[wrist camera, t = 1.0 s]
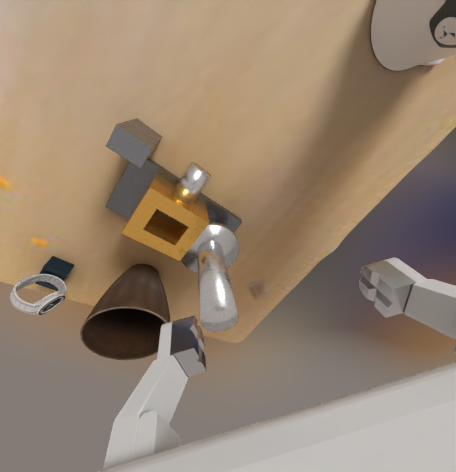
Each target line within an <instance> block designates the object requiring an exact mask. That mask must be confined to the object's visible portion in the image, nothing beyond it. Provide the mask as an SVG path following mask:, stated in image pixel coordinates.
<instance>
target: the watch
mask: <svg viewBox="0 0 456 472" xmlns="http://www.w3.org/2000/svg"><path fill="white" fill-rule="evenodd" d="M73 267H74V265H73V264H71V263H68V262H66V261H64V260H61V259H59V258H56V257H54V256H52V257H51V259H50V260H49V261H48V262H47V263H46V264H45V265H44V267H43V269H42V270H41V272H40V274H39V273H37V274H33V275H30V276H27V277H25V278H23V279H21V280H19V281H18V282H17V283H16V285H15V286H14V288H13V290H12V292H11V294H10V302H11V304H12V306H13V307H15V308H16V309H17V310H19V311H21V312H25V313H28V314H38V315H42V314H45V313H47V312H49V311H51V310H52V309H54V308H55V307H57V306H58V305H59V304H60V303H61V302H62V301H63V300H64V299H65V297H66V296H65V295H64V294H65V293H66V291H67V288H66V285H65V283H64V281H65V279H66V277H67V276H68V274H69V273H70V271H71V270H72V268H73ZM34 283H36V284H39V285H42V286H44V287H47V288H50V289H53V290H56V291H57V292H54V293H51V294H49V295H47V296H46V297H44V298H43V299H42V300H40V301H37V302H35V303H34V304H29V303H27V302H24V301H23V300H21V299H19V297H18V296H17V294H16V291H17V290H20V289H21V288H23V287H25V286H28V285H30V284H34ZM58 290H59V291H58Z"/></svg>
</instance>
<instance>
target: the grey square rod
mask: <svg viewBox="0 0 456 472" xmlns="http://www.w3.org/2000/svg"><path fill="white" fill-rule="evenodd" d="M161 137H162V136H161V135H159V134H158V133H156V132H155V131H154V130H152V129H151V128H150V127H148V126H147V125H145V124H144V123H143V122H141V121H140V120H139V119H133V120H130V121H126V122H123V123H119V124H117V125H116V127H115V129H114V131H113V133H112V135H111V137H110V139H109V141H108V143H107V145H106V147H108V148H109V149H111V150H112V151H114V152H116V153H117V154H119V155H120V156H122V157H124V158H125V159H127V160H128V161H130V162H131V163H133V164H135V165H136V166H138V167H139V168H141V167H142V166H143V165H144V163H145V162H146V161H147V159H148V158H149V157H150V155H151V154H152V153H153V151H154V149H155V148H156V146H157V144H158V143H159V141H160V139H161Z"/></svg>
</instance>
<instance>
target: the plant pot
mask: <svg viewBox="0 0 456 472" xmlns="http://www.w3.org/2000/svg"><path fill="white" fill-rule="evenodd" d="M169 322H170V314H169V308H168V302H167V297H166V293H165V290H164V287H163V284H162V281H161V278H160V276H159V274H158V272H157V270H156V269H155V268H153V267H152V266H149V265H145V264H138V265H134V266H132V267H130V268H129V269H128V270H127V271H126V272H124V273H123V274H122V275H121V276H120V277H119V278H118V279H117V280H116V281H115V282H114V283H113V284H112V285H111V287H110V288H109V289H108V290H107V291H106V292H105V294H104V295H103V296H102V297H101V299H100V300H99V301H98V303H97V304H96V306H95V307H94V309H93V310H92V312H91V313H90V315H89V316H88V318H87V320H86V321H85V322H84V324H83V326H82V327H81V331H80V335H81V339H82V341H83V343H84V345H85V346H86V347H87V348H88V349H89V350H91V351H92V352H94V353H96V354H98V355H100V356H103V357H106V358H111V359H116V360H134V359H141V358H145V357H148V356H151V355H153V354H155V353H157V352H158V347H159V338H160V330H161V326H162V324H165V323H169Z"/></svg>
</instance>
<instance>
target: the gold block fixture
mask: <svg viewBox="0 0 456 472" xmlns="http://www.w3.org/2000/svg"><path fill="white" fill-rule="evenodd" d="M210 178H211V175H210V174H209V173H208V172H207V171H206V170H205V169H203V168H202V167H201V166H199V165H198V164H196V163H194V162H191V164H190V165H189V167H188V168H187V170H186V171H185V173H184V174H183V176H182V177H181V179H179V178H178V177H176V176H175V175H173V174H172V173H170V172H169V171H167V170H166V169H164V168H163V167H161V166H160V165H158V164H157V163H155V162H154V161H152V160H151V159H149V158H148V159H147V161H146V162H145V163H144V165H143V166H142V167H141V168H139V167H138V166H136V165H135V164H133V163H131V162H130V163H129V165H128V166H127V168H126V170H125V172H124V174H123V175H122V177H121V179H120V181H119V183H118V184H117V186H116V188H115V190H114V192H113V193H112V195H111V197H110V199H109V201H108V202H107V204H106V206H105V207H107V208H109V209H111V210H113V211H115V212H117V213H118V214H120V215H122V216H124V217H126V218H128V219H129V220H128V222H127V224H126V225H125V227H124V229H123V231H122V234H124V235H126V236H128V237H130V238H132V239H134V240H136V241H138V242H141V243H143V244H145V245H147V246H149V247H151V248H153V249H155V250H157V251H159V252H161V253H164V254H166V255H168V256H170V257H172V258H174V259H176V260H178V261H180V260H182V262H183V263H184V265H185V266H186V267H187V268H189V269H190V270H192V271H194V272H196V273H198V283H199V301H200V319H201V324H202V326H203V327H204V328H205V329H207V330H210V331H222V330H226V329H228V328H230V327H232V326H233V325H234V324H235V323H236V322H237V319H238V313H237V309H236V305H235V300H234V296H233V292H232V287H231V283H230V279H229V274H228V270H227V268H228V267H230V266H231V265H232V264H233V263H234V261H235V260H236V258H237V256H238V253H239V244H238V241H237V238H236V236H235V234H234V233H233V232H234V231H235V230H236V229H237V228H238V226H239V225H240V224H241V223H242V221H241V219H240V218H238V217H237V216H235V215H234V214H232V213H231V212H229V211H228V210H226V209H225V208H223V207H222V206H220V205H219V204H217V203H216V202H214V201H213V200H211V199H210V198H208V197H207V196H205V195H204V194H202V193H201V191H202V189H203V188H204V187H205V185H206V184H207V182H208V181H209V180H210Z"/></svg>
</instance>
